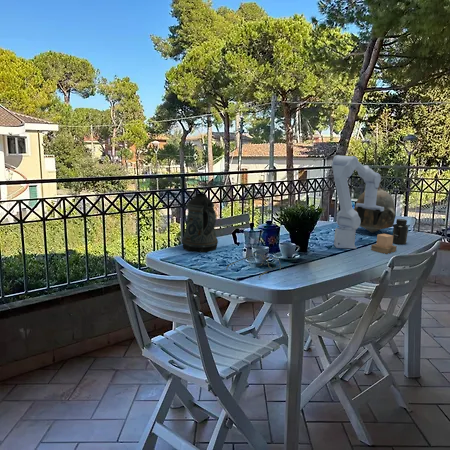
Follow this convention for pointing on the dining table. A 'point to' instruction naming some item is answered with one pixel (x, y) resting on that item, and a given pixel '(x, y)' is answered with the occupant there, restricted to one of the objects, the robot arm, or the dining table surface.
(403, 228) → the supplement bottle
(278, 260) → the eyeglasses
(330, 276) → the dining table surface
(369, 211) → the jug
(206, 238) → the beer stein
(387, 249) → the walnut base
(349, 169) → the robot arm
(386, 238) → the terracotta cube
